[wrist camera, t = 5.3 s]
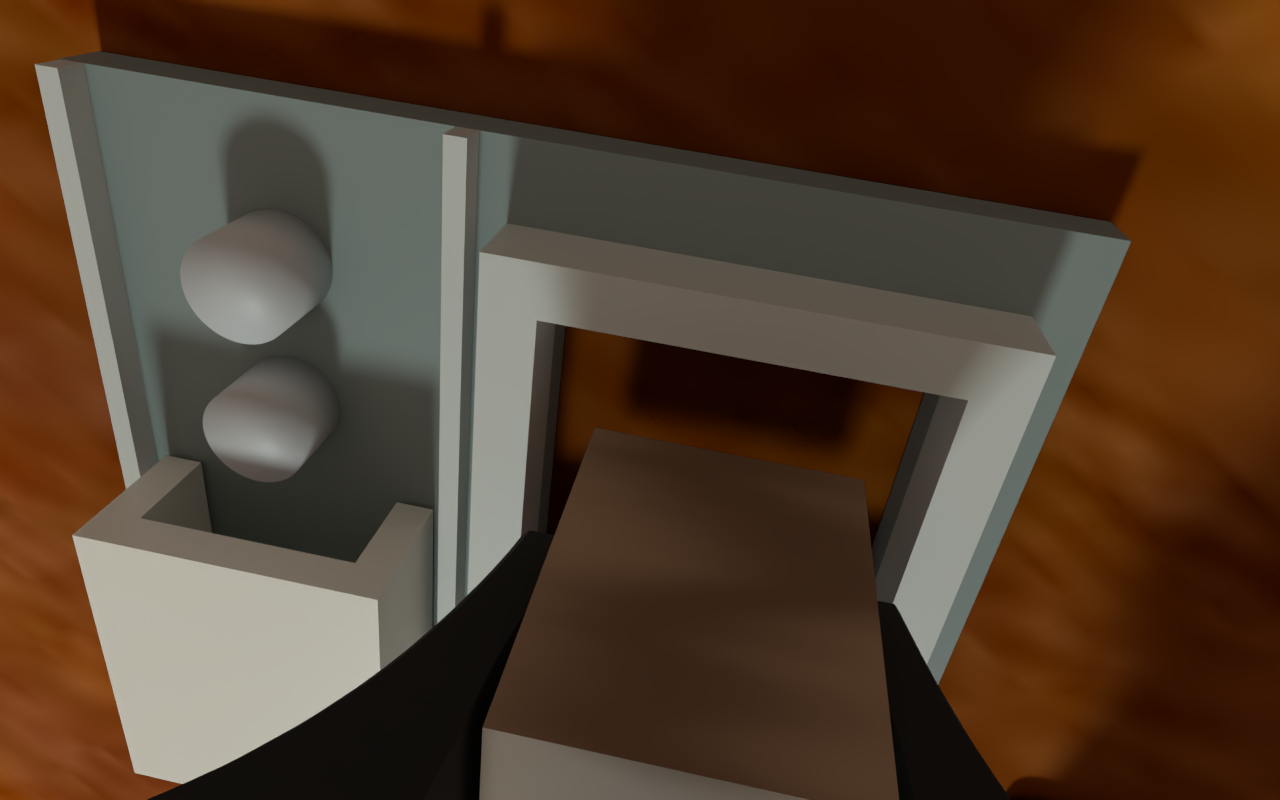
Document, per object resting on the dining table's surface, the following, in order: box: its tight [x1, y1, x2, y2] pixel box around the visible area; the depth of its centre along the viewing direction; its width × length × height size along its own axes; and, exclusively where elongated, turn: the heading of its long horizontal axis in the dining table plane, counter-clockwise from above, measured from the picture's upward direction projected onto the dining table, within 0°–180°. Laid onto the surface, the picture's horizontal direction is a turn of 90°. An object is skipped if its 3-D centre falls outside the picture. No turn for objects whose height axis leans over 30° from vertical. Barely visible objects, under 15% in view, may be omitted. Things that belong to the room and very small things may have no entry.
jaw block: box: [479, 428, 899, 800], centre depth 13 cm, size 4×4×6 cm
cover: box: [72, 455, 433, 784], centre depth 19 cm, size 6×7×3 cm
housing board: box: [35, 51, 1131, 684], centre depth 18 cm, size 18×16×2 cm
